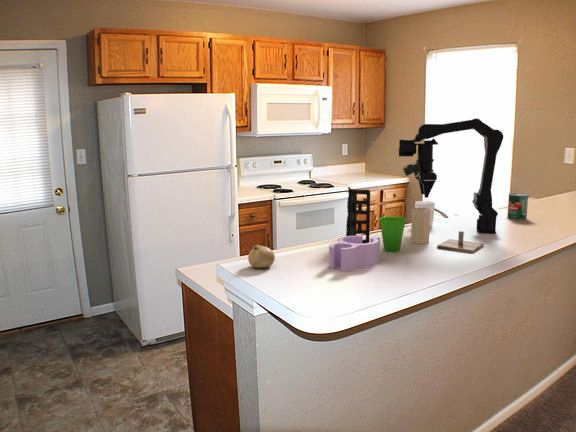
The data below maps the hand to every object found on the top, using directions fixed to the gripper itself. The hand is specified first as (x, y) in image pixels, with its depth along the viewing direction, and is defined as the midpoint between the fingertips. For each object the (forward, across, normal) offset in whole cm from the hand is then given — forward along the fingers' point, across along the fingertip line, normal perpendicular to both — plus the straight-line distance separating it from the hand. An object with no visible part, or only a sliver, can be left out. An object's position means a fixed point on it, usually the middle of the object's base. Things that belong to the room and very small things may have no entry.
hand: (424, 195), depth 203 cm
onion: (+13, +58, -57) cm, 82 cm away
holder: (+14, +26, -27) cm, 40 cm away
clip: (+14, +51, -29) cm, 60 cm away
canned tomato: (+15, -27, +44) cm, 54 cm away
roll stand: (+14, +28, +8) cm, 33 cm away
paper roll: (+14, +21, -4) cm, 26 cm away
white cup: (+14, -8, +1) cm, 16 cm away
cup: (+14, +35, -16) cm, 41 cm away
